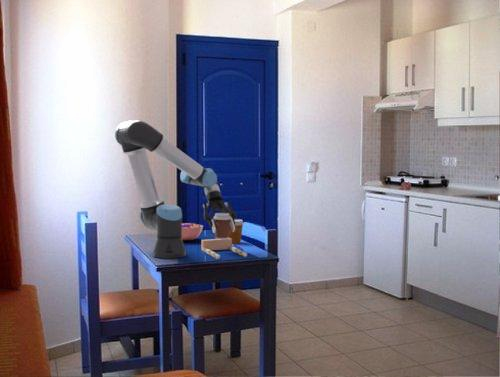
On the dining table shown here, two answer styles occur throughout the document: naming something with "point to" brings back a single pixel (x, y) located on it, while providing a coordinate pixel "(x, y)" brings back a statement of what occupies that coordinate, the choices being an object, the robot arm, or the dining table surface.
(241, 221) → the disposable coffee cup
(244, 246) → the dining table surface
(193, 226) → the cell model
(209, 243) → the end stop
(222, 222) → the coffee cup
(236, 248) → the track rails
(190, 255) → the dining table surface
